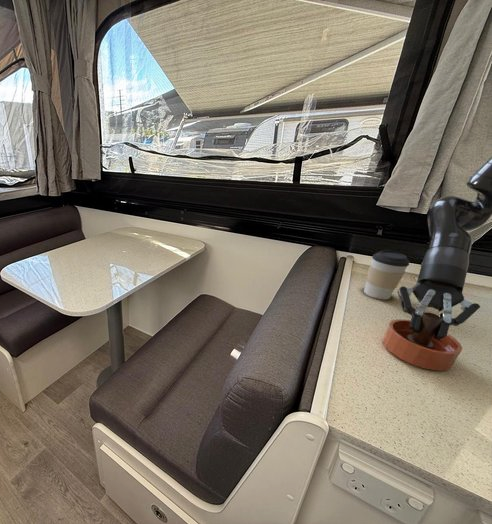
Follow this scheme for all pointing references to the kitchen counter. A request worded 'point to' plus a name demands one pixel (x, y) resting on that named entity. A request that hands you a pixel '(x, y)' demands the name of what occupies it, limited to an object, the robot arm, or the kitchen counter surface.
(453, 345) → the bowl
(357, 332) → the kitchen counter surface
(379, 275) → the coffee cup
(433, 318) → the pepper mill
